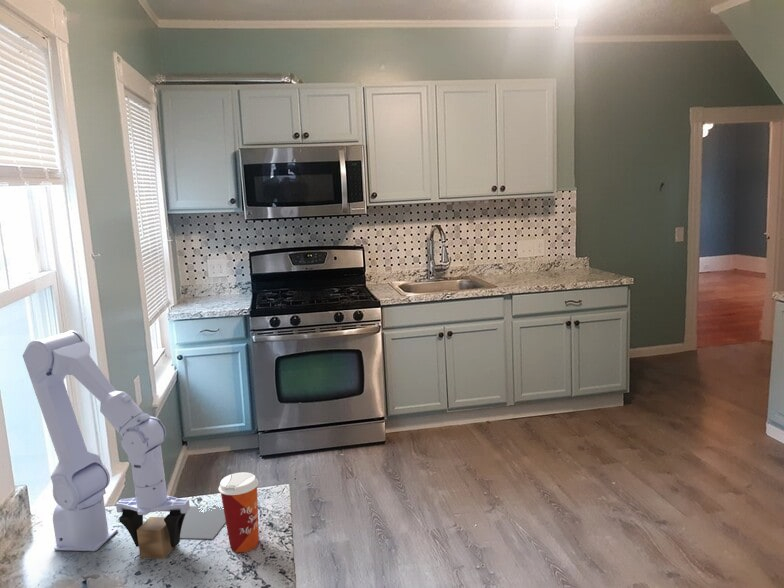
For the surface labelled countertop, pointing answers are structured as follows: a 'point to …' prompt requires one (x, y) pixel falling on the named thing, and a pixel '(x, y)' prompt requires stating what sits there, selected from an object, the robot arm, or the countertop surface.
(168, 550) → the walnut block
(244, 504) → the paper cup
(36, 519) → the countertop surface
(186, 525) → the slate mat
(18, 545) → the countertop surface
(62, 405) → the robot arm
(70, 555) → the countertop surface
